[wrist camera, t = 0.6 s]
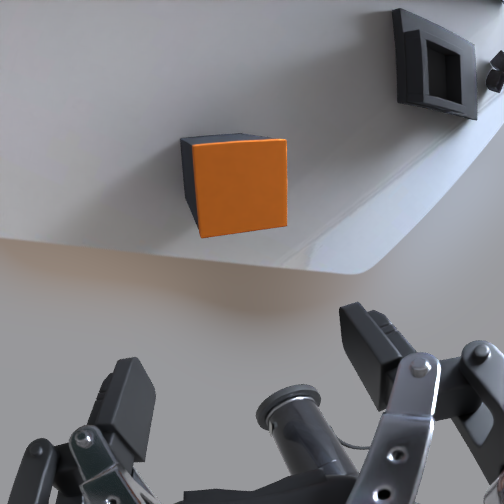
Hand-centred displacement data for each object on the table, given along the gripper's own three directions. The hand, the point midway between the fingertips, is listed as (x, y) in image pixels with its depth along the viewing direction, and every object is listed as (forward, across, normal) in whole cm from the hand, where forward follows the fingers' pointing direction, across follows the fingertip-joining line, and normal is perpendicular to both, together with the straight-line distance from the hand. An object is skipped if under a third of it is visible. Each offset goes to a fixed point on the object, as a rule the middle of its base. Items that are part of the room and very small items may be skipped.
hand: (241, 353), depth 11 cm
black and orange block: (+18, 0, +6) cm, 19 cm away
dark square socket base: (+23, +30, +13) cm, 40 cm away
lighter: (+26, +46, +14) cm, 55 cm away
